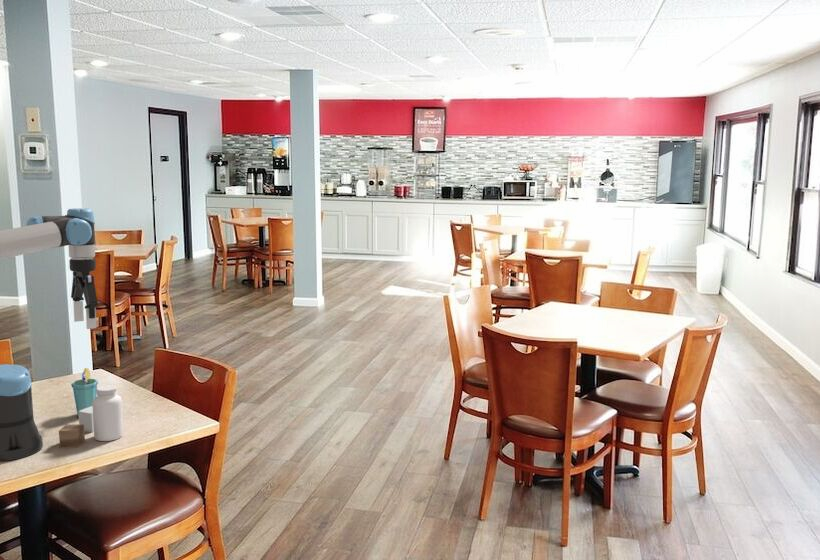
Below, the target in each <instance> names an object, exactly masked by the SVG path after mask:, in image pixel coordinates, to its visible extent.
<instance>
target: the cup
mask: <svg viewBox="0 0 820 560" xmlns="http://www.w3.org/2000/svg"><path fill="white" fill-rule="evenodd" d="M81 377H82V379H77V380H75V381H73V382H72V383H71V384H70V385H71V387H72V390H73V391H72V392H73V396H74V402H75V407H76V414H77V416H78V417H79V414H78V411H80V410H83V409H85V408H88V407H90V406H93V405H92V403H93V400H94V398H95V397H97V388H98V384H99V381H98V380H97V379H94V378H91V372H90V369H89V368H87V367H86V368H84V369H83V372H82V375H81Z"/></svg>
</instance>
